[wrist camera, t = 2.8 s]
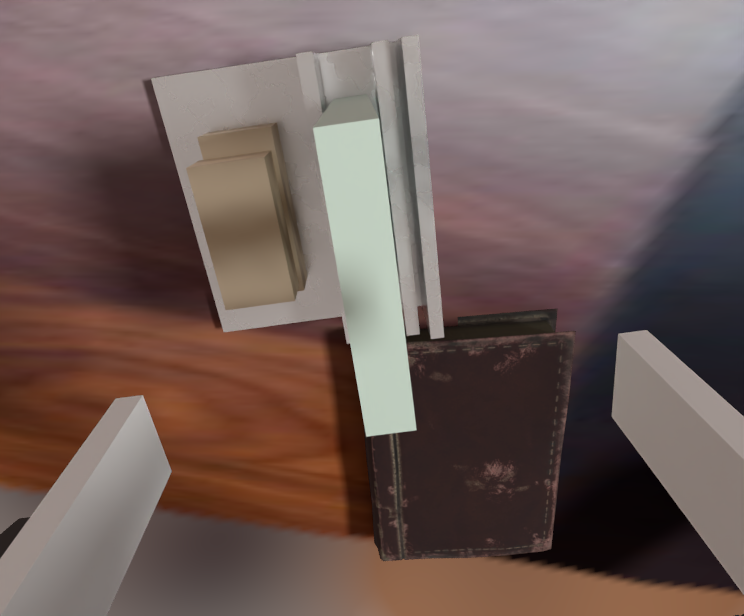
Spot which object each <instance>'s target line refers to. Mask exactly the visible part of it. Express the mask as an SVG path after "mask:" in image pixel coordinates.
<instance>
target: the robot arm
mask: <svg viewBox="0 0 744 616" xmlns="http://www.w3.org/2000/svg"><path fill="white" fill-rule="evenodd" d="M612 418H613V419H614V420H615V422H616V423H617V424H618V426H619V427H620V428H621V430H622V431H623V432H624V434H625V435H626V436H627V438H628V439H629V440H630V442H631V443H632V445H633V446H634V447H635V449H636V450H637V451H638V453H639V454H640V455H641V457H642V458H643V459H644V461H645V462H646V463H647V465H648V466H649V467H650V469H651V470H652V471H653V473H654V474H655V476H656V477H657V478H658V480H659V481H660V482H661V484H662V485H663V486H664V488H665V489H666V490H667V492H668V493H669V494H670V496H671V497H672V498H673V500H674V501H675V503H676V504H677V505H678V507H679V508H680V509H681V511H682V512H683V513H684V515H685V516H686V517H687V519H688V520H689V521H690V523H691V524H692V525H693V527H694V528H695V530H696V531H697V532H698V534H699V535H700V536H701V538H702V539H703V540H704V542H705V543H706V544H707V546H708V547H709V548H710V550H711V551H712V552H713V554H714V555H715V556H716V558H717V559H718V561H719V562H720V563H721V565H722V566H723V567H724V569H725V570H726V571H727V573H728V574H729V575H730V577H731V578H732V579H733V581H734V582H735V583H736V585H737V586H738V588H739V589H740V590H741V592H742V593H743V594H744V417H743V416H742V415H741V414H740V413H739V412H738V411H737V410H736V409H734V408H733V407H732V406H731V405H730V404H729V403H728V402H727V401H726V400H724V399H723V398H722V397H721V396H720V395H719V394H718V393H717V392H715V391H714V390H713V389H712V388H711V387H710V386H709V385H708V384H706V383H705V382H704V381H703V380H702V379H701V378H700V377H699V376H698V375H696V374H695V373H694V372H693V371H692V370H691V369H690V368H689V367H687V366H686V365H685V364H684V363H683V362H682V361H681V360H680V359H679V358H677V357H676V356H675V355H674V354H673V353H672V352H671V351H670V350H668V349H667V348H666V347H665V346H664V345H663V344H662V343H661V342H659V341H658V340H657V339H656V338H655V337H654V336H653V335H652V334H651V333H649V332H648V331H647V330H644V331H636V332H629V333H621V334H618V344H617V357H616V369H615V382H614V394H613V407H612ZM171 472H172V471H171V468H170V465H169V463H168V460H167V458H166V455H165V452H164V450H163V447H162V444H161V442H160V439H159V436H158V434H157V431H156V429H155V426H154V423H153V421H152V418H151V415H150V413H149V410H148V408H147V405H146V402H145V400H144V397H143V395H140V396H132V397H124V398H116V399H115V400H114V402H113V403H112V404H111V406H110V407H109V409H108V410H107V411H106V413H105V414H104V416H103V417H102V418H101V420H100V421H99V422H98V424H97V425H96V427H95V428H94V429H93V431H92V432H91V434H90V435H89V436H88V438H87V439H86V441H85V442H84V443H83V445H82V446H81V447H80V449H79V450H78V452H77V453H76V454H75V456H74V457H73V459H72V460H71V461H70V463H69V464H68V465H67V467H66V468H65V470H64V471H63V472H62V474H61V475H60V477H59V478H58V479H57V481H56V482H55V483H54V485H53V486H52V488H51V489H50V490H49V492H48V493H47V495H46V496H45V497H44V499H43V500H42V502H41V503H40V504H39V506H38V507H37V508H36V510H35V511H34V513H33V514H32V515H31V517H29V518H21V519H18V520H17V521H16V522H14V523H13V524H12V525H11V526H10V527H9V528H7V529H6V530H5V531H4V532H3V533H2V534H0V616H107V614H108V612H109V609H110V607H111V605H112V603H113V600H114V598H115V596H116V594H117V592H118V589H119V587H120V585H121V583H122V580H123V578H124V576H125V574H126V572H127V569H128V567H129V565H130V563H131V561H132V558H133V556H134V554H135V552H136V549H137V547H138V545H139V543H140V541H141V538H142V536H143V534H144V532H145V530H146V527H147V525H148V523H149V521H150V519H151V516H152V514H153V512H154V510H155V507H156V505H157V503H158V501H159V499H160V496H161V494H162V492H163V490H164V488H165V485H166V483H167V481H168V479H169V476H170V474H171ZM735 616H739V615H735ZM741 616H744V614H743V615H741Z"/></svg>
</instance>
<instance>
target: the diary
mask: <svg viewBox="0 0 744 616" xmlns="http://www.w3.org/2000/svg"><path fill="white" fill-rule="evenodd" d="M556 319H557V309H547V310H535V311H524V312H512V313H500V314H489V315H477V316H466V317H458V326H454V327H443V328H444V338H436V339H431V338H430V334H429V331H428V329H419V330H420V334H417V335H410V336H407V334H406V330H405V338H406V347H407V355H408V363H409V371H410V380H411V388H412V396H413V404H414V413H415V421H416V429H417V430H415V431H407V432H399V433H391V434H383V435H376V436H368V437H366V432H365V426H364V432H365V446H366V458H367V467H368V475H369V483H370V491H371V499H372V512H373V528H374V542H375V544H376V546H377V548H378V551H379V555H380V559H382V560H383V561H392V560H402V559H405V560H409V559H425V558H471V557H487V556H503V555H513V554H522V553H531V552H540V551H545V550H549V549H551V545H552V536H553V527H554V518H555V509H556V500H557V490H558V481H559V471H560V461H561V452H562V445H563V437H564V430H565V423H566V415H567V408H568V401H569V391H570V381H571V372H572V362H573V352H574V342H575V332H576V331H567V332H555V328H556Z"/></svg>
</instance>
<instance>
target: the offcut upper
mask: <svg viewBox="0 0 744 616" xmlns="http://www.w3.org/2000/svg"><path fill="white" fill-rule="evenodd" d="M186 170H187V174H188V177H189V181H190V184H191V188H192V192H193V195H194V199H195V202H196V206H197V209H198V213H199V217H200V220H201V224H202V227H203V231H204V234H205V238H206V242H207V245H208V249H209V252H210V256H211V260H212V263H213V267H214V270H215V274H216V277H217V281H218V285H219V288H220V292H221V295H222V299H223V302H224V306H225V310H232V309H240V308H247V307H254V306H262V305H269V304H277V303H284V302H291V301H295V299H296V295H297V291H298V288H299V282H298V277H297V272H296V267H295V263H294V258H293V253H292V248H291V244H290V239H289V234H288V229H287V224H286V220H285V215H284V210H283V205H282V200H281V196H280V191H279V186H278V181H277V176H276V172H275V167H274V162H273V157H272V153H271V150H269V151H262V152H255V153H249V154H242V155H235V156H228V157H221V158H214V159H207V160H200V161H197V162H196V163H194V164H192V165H191V166H189V167H187V168H186Z"/></svg>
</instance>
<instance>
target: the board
mask: <svg viewBox="0 0 744 616" xmlns="http://www.w3.org/2000/svg"><path fill="white" fill-rule="evenodd" d="M313 132H314V137H315V143H316V149H317V155H318V160H319V166H320V172H321V178H322V184H323V189H324V195H325V201H326V207H327V213H328V218H329V224H330V230H331V236H332V241H333V247H334V253H335V259H336V265H337V270H338V276H339V282H340V288H341V293H342V299H343V305H344V311H345V317H346V322H347V328H348V334H349V340H350V346H351V351H352V357H353V363H354V369H355V374H356V380H357V386H358V392H359V398H360V403H361V409H362V415H363V421H364V426H365V432H366V437H368V436H376V435H383V434H391V433H399V432H407V431H415V430H417V429H416V421H415V413H414V404H413V396H412V388H411V380H410V371H409V363H408V355H407V347H406V338H405V330H404V322H403V314H402V305H401V297H400V289H399V280H398V272H397V264H396V256H395V247H394V239H393V231H392V223H391V214H390V206H389V198H388V190H387V181H386V173H385V165H384V157H383V148H382V140H381V132H380V124H379V118H378V116H377V113H376V111H375V109H374V107H373V105H372V103H371V101H370V99H369V97H368V95H367V94H364V95H357V96H350V97H344V98H337V99H333V100H332V102H331V103H330V105H329V106H328V107H327V109H326V110H325V112H324V113H323V114H322V116H321V117H320V119H319V120H318V121H317V123H316V124H315V126H314V127H313Z"/></svg>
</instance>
